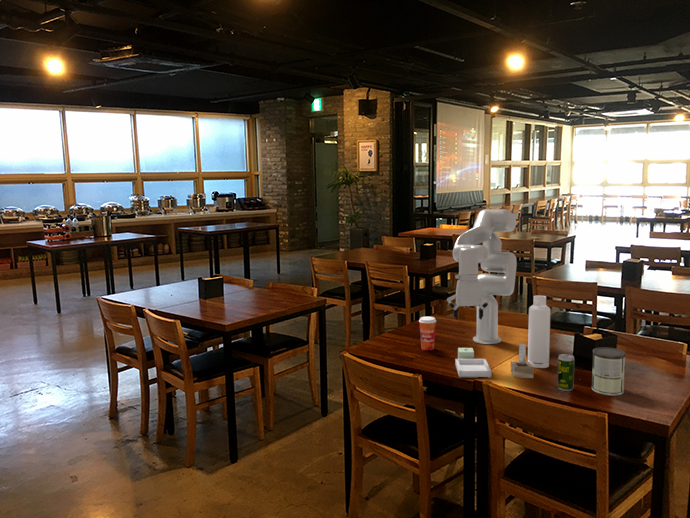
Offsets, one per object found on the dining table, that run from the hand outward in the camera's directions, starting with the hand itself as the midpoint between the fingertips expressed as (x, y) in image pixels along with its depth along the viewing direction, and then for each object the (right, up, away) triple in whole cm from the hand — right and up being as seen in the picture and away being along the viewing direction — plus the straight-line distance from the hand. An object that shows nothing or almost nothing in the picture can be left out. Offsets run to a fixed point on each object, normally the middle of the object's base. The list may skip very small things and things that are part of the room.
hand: (468, 318), depth 224 cm
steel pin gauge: (+17, -20, -15) cm, 30 cm away
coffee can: (+42, -22, -32) cm, 57 cm away
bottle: (+27, -18, -4) cm, 33 cm away
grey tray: (0, -20, -9) cm, 21 cm away
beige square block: (+17, -20, -15) cm, 30 cm away
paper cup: (-13, -16, +21) cm, 30 cm away
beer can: (+28, -22, -30) cm, 46 cm away
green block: (0, -18, +3) cm, 18 cm away
